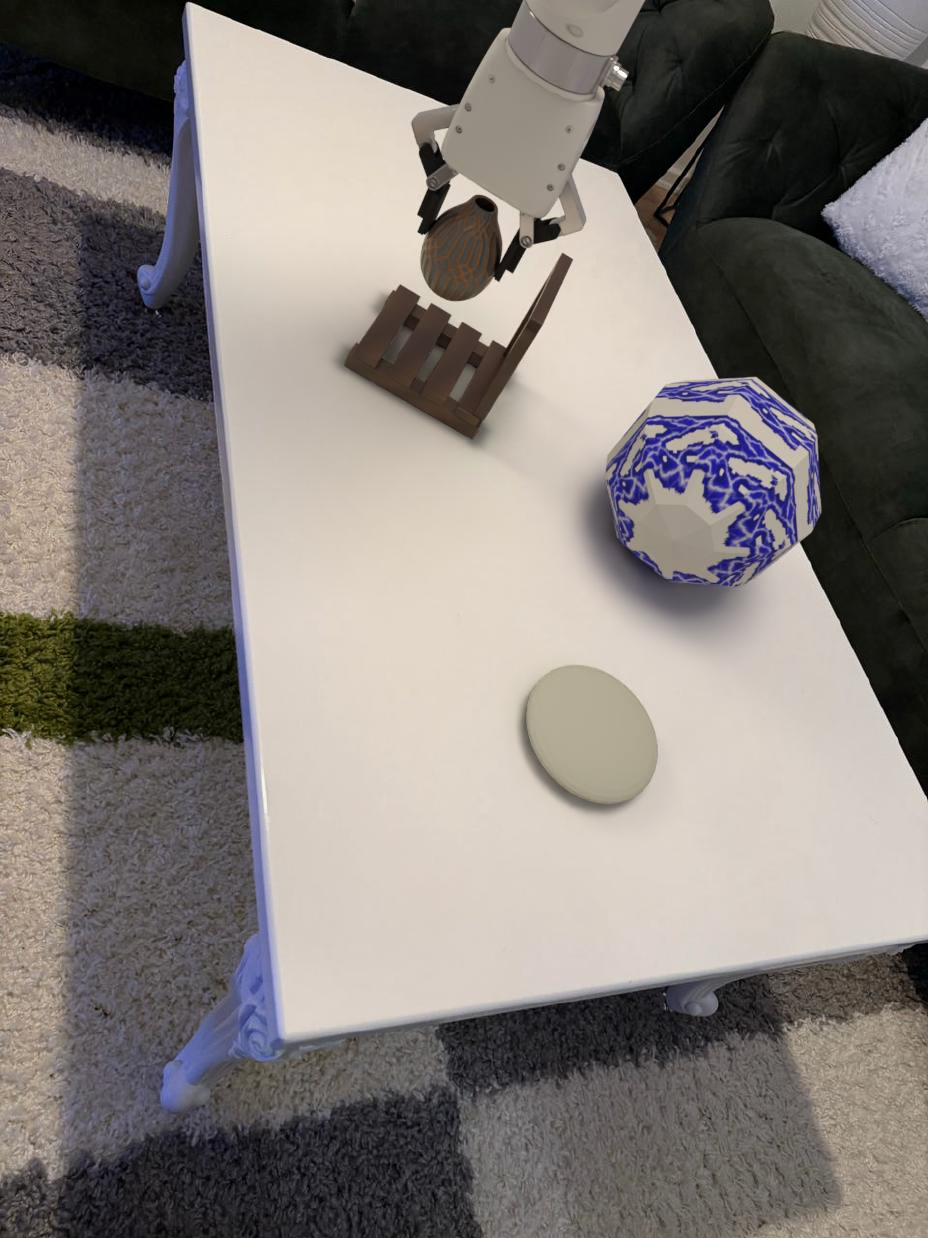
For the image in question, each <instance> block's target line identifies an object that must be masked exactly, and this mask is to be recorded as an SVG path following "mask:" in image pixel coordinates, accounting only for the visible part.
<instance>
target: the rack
mask: <svg viewBox="0 0 928 1238" xmlns="http://www.w3.org/2000/svg"><path fill="white" fill-rule="evenodd" d="M573 261H574V259H573V258H572V257H570V256H569V255H567V254H566V253H565V252H561V254H560V256H559V257H558V259H557V261H556V262H555V264H554V266H553V267H552V269H551V271H550V272H549V274H548V276H547V278H546V279H545V281H544V283H543V285H542V286H541V288H540V289H539V291H538V293H537V294H536V296H535V298H534V300H533V302H532V303H531V305H530V306H529V308H528V310H527V312H526V313H525V315H524V317H523V318H522V320H521V322H520V324H519V325H518V327H517V328H516V330H515V332H514V334H513V335H512V337H511V339H510V341H509V342H508V344H507V346H504V345H503V344H500V343H499V342H498V341H495V340H494V339H492V340H491V342H490V343H489V345H487V344H485V343H483V342H481V340H480V339H481V337H482V336H483V333H482V332H480V331H479V330H477V329H476V328H474V327H473V326H471V325H469V324H467V323H465V322H464V321H461V322H460V324H459V326H458V327H457V326H454V324H452V323H450V320H451V318H452V314H451V313H449V312H448V311H446V310H444V309H443V308H441V307H440V306H438V305H436V304H435V303H433V302H431V303H430V304H429V305H428V307H427V308H425V307H423V306H422V305H420V304H418V303H419V302H420V300H421V298H422V297H421V295H419V294H418V293H416V292H414V291H413V290H411V289H409V288H407V287H406V286H404V285H403V284H401V283H400V284H398V285H397V288H396V289H392V290H391V292H390V294H389V295H388V296H387V298H386V299H385V301H384V304H383V305H382V306H383V307H382V308H381V311H380V312H379V313H378V315H377V316H376V318H375V319H374V320H373V322H372V324H371V325H370V326H369V328H368V329H367V331H365V334H364V335H363V336H362V338H361V340H360V341H359V342H355V343H354V345H353V347H352V348H351V349H350V351H348V354H347V356H346V359H345V361H344V364H343V365H344V366H345V367H347V368H348V369H350V370H351V371H353V372H355V373H357V374H359V375H361V376H362V377H364V378H366V379H368V380H369V381H371V382H373V383H374V384H376V385H378V386H379V387H381V388H383V389H385V390H387V391H388V392H390V393H392V394H393V395H395V396H397V397H398V398H399V399H402V400H403V401H406V402H407V403H408V404H411V406H414V407H416V408H417V409H419V410H421V411H423V412H425V413H426V414H428V415H429V416H431V417H434V418H435V419H436V420H438V421H440V422H442V423H443V424H445V425H447V426H448V427H450V428H451V429H454V430H455V431H457V432H459V433H461V434H462V435H464V436H466V437H468V438H469V439H471V440H473V439H474V438H475V436H476V435H477V433H478V431H479V430H480V428H481V425H482V423H483V422H484V421H485V420H486V418H487V416H488V415H489V413H490V412H491V410H492V409H493V407H494V405H495V404H496V402H497V401H498V398H499V397H500V395H501V394H502V392H503V391H504V389H505V387H506V385H507V384H508V383H509V381H510V379H511V378H512V376H513V374H514V373H515V371H516V369H517V368H518V366H519V365H520V363H521V361H522V360H523V358H524V357H525V355H526V353H527V352H528V350H529V348H530V346H531V345H532V344H533V342H534V341H535V339H536V337H537V335H538V334H539V332H540V330H541V329H542V327H543V326H544V324H545V321H546V320H547V317H548V314H549V313H550V311H551V308H552V307H553V304H554V303H555V300H556V297H557V295H558V293H559V291H560V289H561V287H562V285H563V283H564V281H565V278H566V276H567V275H568V272H569V270H570V268H571V265H572V264H573ZM404 326H407V327H408V328H410V329H412V330H413V331H412V333H410V335H409V337H408V339H407V340H406V341H405V343H404V345H403V347H402V348H401V349H400V351H399V353H398V354H397V356H396V357H395V359H394V361H393V362H392V361H389V360H387V359H386V358H385V357H384V356H385V354H386V353H387V351H388V350H389V349H390V347H391V345H392V344H393V342H394V341H395V340H396V337H397V336H398V334H399V333H400V332H401V330H402V328H403V327H404ZM436 344H438V345H439V346H441V347H442V348H444V349H445V350H444V352H443V354H442V355H441V357H440V358H439V361H438V362H437V364H436V366H435V367H434V369H433V371H432V373H431V374H430V376H429V378H428V379H427V382H425V381H424V380H422V379H420V378H418V377H417V376H418V375H419V372H420V371H421V369H422V367H423V366H424V364H425V362H426V361H427V359H428V357H429V356H430V354H431V352H432V351H433V349H434V347H435V346H436ZM468 363H469V364H471V365H472V366H474V367H475V368H476V371H475V372H474V373H473V376H472V378H471V379H470V381H469V384H468V385H467V387H466V390H465V391H464V393H463V395H462V397H461V399H460V400H459V401H457V400H456V399H454V398H453V397H451V396H450V395H451V393H452V391H453V389H454V387H455V386H456V384H457V382H458V380H459V378H460V376H461V375H462V372H463V370H464V369H465V367H466V365H467V364H468Z"/></svg>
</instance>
